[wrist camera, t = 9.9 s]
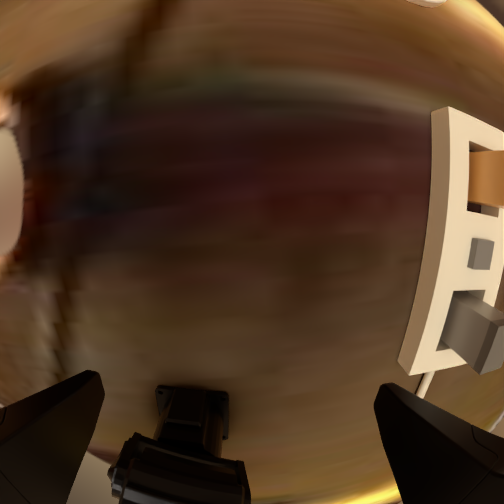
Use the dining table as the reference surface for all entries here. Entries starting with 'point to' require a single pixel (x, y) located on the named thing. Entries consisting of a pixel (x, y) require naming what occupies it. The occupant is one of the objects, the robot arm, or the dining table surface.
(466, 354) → the twin plug
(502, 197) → the plug
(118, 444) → the dining table surface
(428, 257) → the power strip
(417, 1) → the decorative container
